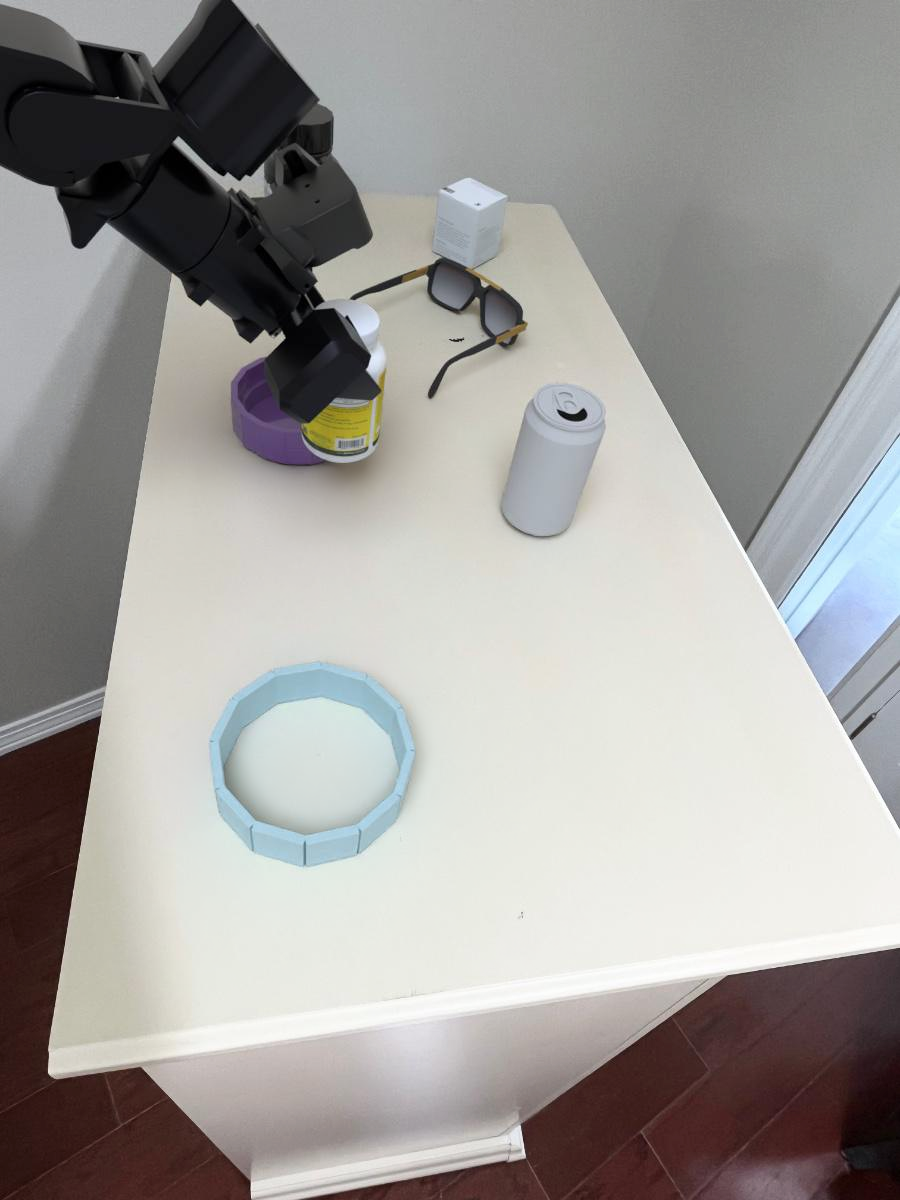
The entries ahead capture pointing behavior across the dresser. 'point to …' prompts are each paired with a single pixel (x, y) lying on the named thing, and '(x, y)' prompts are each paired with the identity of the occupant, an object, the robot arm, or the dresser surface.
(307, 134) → the ink bottle
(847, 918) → the dresser surface
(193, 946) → the dresser surface
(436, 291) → the sunglasses
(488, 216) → the white cardboard box
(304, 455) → the purple bowl
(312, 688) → the light blue ring
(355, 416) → the pill bottle
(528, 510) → the beverage can
